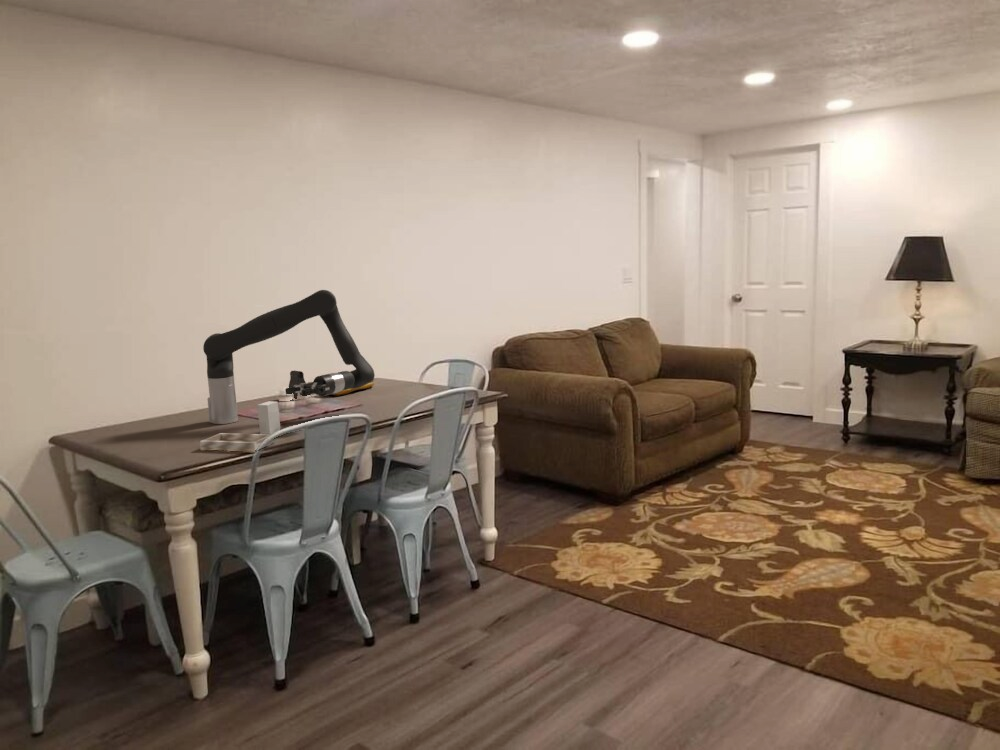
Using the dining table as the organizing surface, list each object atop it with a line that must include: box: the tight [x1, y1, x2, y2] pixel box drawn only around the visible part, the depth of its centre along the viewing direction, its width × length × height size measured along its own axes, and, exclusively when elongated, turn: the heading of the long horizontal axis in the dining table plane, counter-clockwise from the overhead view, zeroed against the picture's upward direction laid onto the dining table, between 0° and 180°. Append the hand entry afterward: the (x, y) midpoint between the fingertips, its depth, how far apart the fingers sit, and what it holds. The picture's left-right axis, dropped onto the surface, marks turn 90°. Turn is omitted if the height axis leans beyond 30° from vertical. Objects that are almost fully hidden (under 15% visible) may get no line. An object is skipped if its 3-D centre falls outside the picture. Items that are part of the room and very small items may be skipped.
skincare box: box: [256, 400, 281, 435], centre depth 254 cm, size 6×4×12 cm
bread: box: [329, 380, 375, 397], centre depth 336 cm, size 13×26×8 cm, turn 152°
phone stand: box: [288, 369, 307, 399], centre depth 323 cm, size 9×6×12 cm, turn 136°
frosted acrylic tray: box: [199, 432, 270, 453], centre depth 244 cm, size 20×11×3 cm, turn 75°
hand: (294, 392), depth 262 cm, fingers open, 8 cm apart
